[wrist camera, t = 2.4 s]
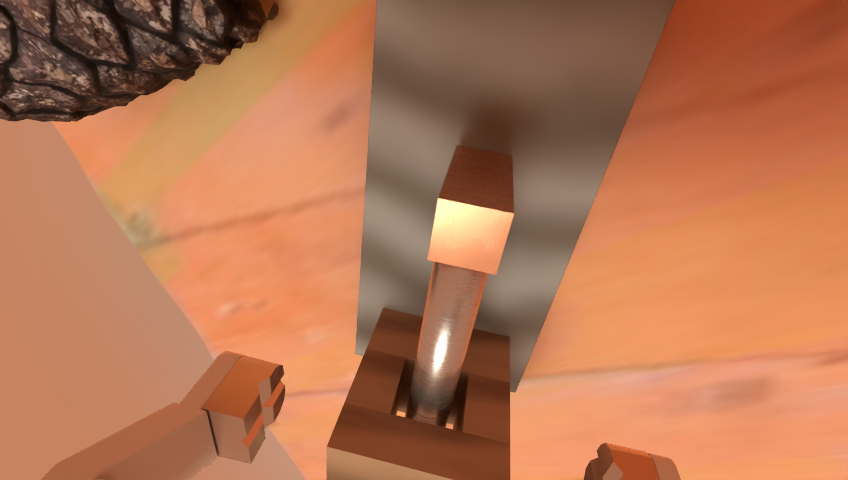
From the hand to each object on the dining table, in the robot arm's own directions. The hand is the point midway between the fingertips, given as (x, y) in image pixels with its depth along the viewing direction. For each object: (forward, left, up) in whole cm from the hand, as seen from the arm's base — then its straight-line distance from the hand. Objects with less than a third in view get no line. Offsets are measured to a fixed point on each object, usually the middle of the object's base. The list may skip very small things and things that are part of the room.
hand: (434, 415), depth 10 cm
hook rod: (+9, 0, -16) cm, 18 cm away
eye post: (+2, 0, -18) cm, 18 cm away
